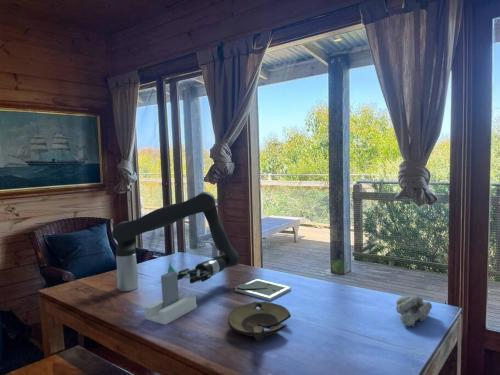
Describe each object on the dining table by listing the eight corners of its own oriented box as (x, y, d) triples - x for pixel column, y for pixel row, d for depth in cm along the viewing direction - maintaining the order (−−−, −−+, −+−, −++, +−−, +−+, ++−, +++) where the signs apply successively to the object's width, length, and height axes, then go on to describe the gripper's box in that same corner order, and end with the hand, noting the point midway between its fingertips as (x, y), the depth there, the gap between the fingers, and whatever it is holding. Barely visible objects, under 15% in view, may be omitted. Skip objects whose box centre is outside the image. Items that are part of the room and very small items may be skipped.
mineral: (442, 310, 135) (428, 284, 137) (430, 325, 121) (414, 296, 124) (411, 318, 142) (398, 294, 145) (396, 334, 129) (383, 306, 131)
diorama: (200, 273, 201) (199, 257, 200) (170, 283, 186) (169, 267, 185) (186, 269, 209) (185, 254, 208) (156, 279, 194) (155, 263, 193)
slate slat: (163, 312, 147) (161, 275, 146) (174, 306, 152) (171, 271, 151) (168, 313, 145) (166, 276, 144) (179, 308, 150) (177, 272, 149)
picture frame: (235, 292, 170) (269, 302, 156) (234, 286, 170) (269, 296, 156) (257, 282, 182) (291, 291, 168) (256, 277, 182) (291, 285, 168)
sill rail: (145, 318, 144) (144, 307, 144) (177, 302, 159) (176, 292, 159) (165, 324, 138) (164, 312, 138) (196, 307, 153) (196, 296, 153)
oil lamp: (298, 318, 139) (297, 298, 138) (271, 359, 111) (270, 335, 111) (244, 311, 148) (244, 292, 147) (207, 347, 120) (206, 324, 120)
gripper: (195, 259, 171) (170, 269, 157) (219, 263, 163) (195, 273, 150) (196, 275, 171) (171, 286, 158) (220, 279, 164) (196, 291, 150)
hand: (182, 279), depth 154 cm, fingers open, 8 cm apart
